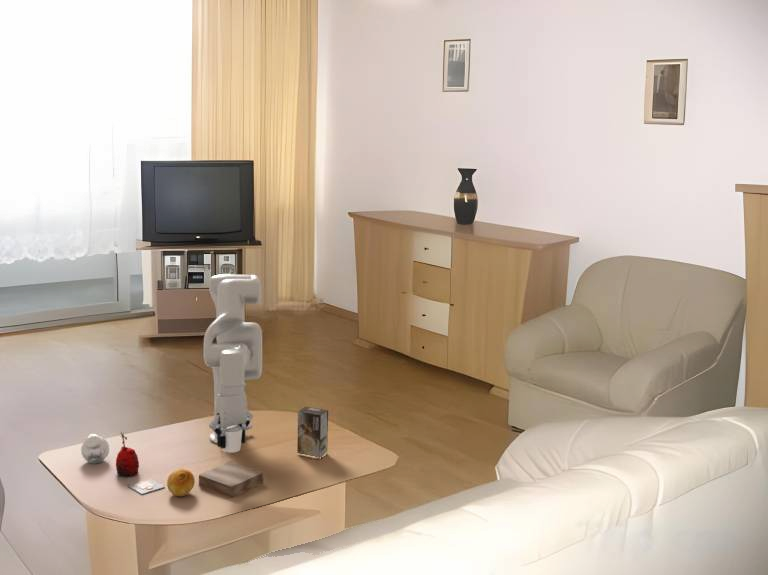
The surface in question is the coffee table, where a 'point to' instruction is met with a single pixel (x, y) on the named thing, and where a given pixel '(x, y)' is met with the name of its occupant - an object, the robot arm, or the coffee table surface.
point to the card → (146, 486)
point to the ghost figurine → (95, 448)
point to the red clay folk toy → (127, 461)
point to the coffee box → (312, 431)
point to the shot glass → (233, 438)
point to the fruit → (180, 482)
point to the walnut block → (230, 479)
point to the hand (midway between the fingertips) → (231, 444)
